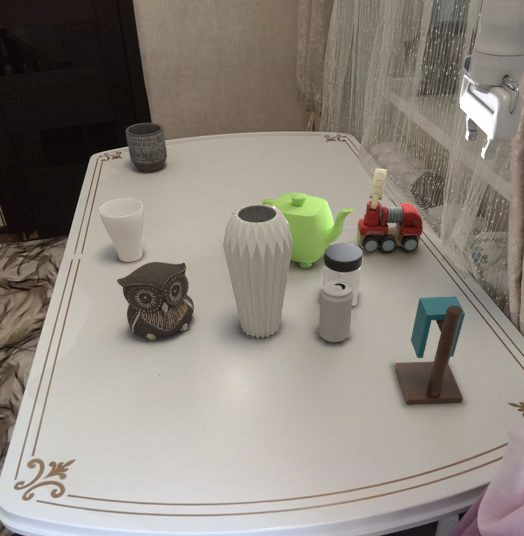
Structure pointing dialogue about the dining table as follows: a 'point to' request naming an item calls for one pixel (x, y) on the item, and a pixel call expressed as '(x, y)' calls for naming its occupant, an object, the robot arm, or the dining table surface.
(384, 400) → the dining table surface
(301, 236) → the teapot
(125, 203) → the cup
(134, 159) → the planter
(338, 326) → the beverage can
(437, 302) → the clip
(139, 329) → the figurine
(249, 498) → the dining table surface
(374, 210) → the toy fire truck
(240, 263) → the vase
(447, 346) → the peg stand
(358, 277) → the jar
